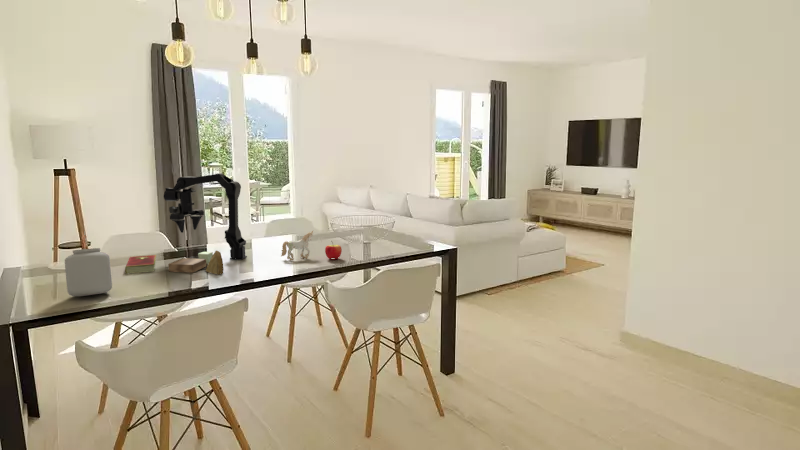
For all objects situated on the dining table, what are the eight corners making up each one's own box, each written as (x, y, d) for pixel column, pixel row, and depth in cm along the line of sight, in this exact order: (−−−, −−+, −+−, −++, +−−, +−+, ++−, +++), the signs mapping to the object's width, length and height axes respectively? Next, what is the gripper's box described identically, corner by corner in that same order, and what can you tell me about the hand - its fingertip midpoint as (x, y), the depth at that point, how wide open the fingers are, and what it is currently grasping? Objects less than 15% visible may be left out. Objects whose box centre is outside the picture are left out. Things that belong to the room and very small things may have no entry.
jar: (68, 291, 197) (62, 230, 193) (111, 286, 205) (106, 227, 201) (67, 304, 181) (60, 237, 177) (113, 298, 189) (108, 234, 185)
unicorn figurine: (320, 257, 261) (319, 232, 259) (286, 262, 249) (285, 236, 246) (313, 254, 266) (313, 230, 264) (280, 259, 254) (279, 234, 252)
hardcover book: (125, 274, 224) (124, 265, 224) (129, 264, 243) (128, 256, 243) (154, 272, 229) (154, 263, 228) (156, 262, 248) (156, 254, 247)
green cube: (213, 261, 249) (212, 252, 248) (208, 264, 244) (207, 254, 243) (203, 261, 250) (203, 251, 249) (198, 263, 245) (198, 253, 244)
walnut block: (206, 267, 240) (205, 259, 239) (193, 273, 228) (192, 264, 227) (183, 266, 241) (182, 258, 240) (168, 272, 229) (168, 263, 229)
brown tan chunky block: (229, 269, 224) (229, 261, 233) (216, 256, 221) (217, 248, 230) (210, 284, 224) (211, 275, 233) (196, 271, 220) (198, 263, 229)
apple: (322, 260, 254) (322, 241, 252) (330, 256, 262) (330, 238, 260) (336, 261, 251) (336, 242, 249) (344, 258, 259) (344, 239, 257)
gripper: (186, 198, 264) (188, 227, 267) (159, 202, 247) (162, 233, 249) (203, 199, 261) (205, 228, 263) (177, 203, 243) (180, 234, 246)
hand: (188, 231), depth 256 cm, fingers open, 9 cm apart
